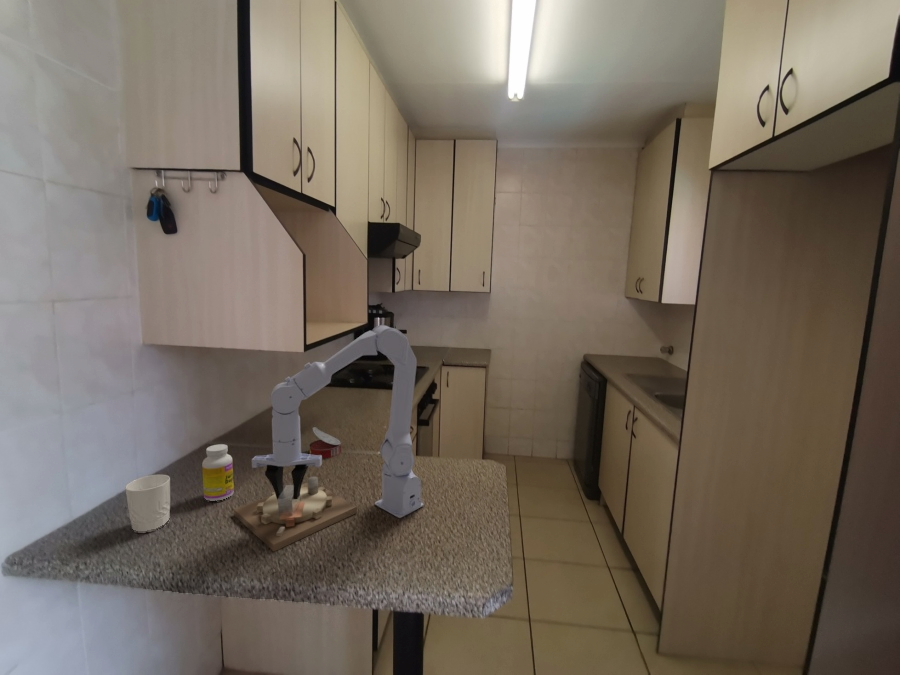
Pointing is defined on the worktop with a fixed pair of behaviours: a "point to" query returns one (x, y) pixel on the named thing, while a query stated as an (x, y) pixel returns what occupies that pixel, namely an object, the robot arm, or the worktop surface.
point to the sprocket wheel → (309, 506)
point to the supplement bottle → (217, 473)
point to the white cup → (149, 502)
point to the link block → (287, 501)
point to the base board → (282, 535)
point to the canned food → (325, 445)
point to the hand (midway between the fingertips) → (288, 497)
